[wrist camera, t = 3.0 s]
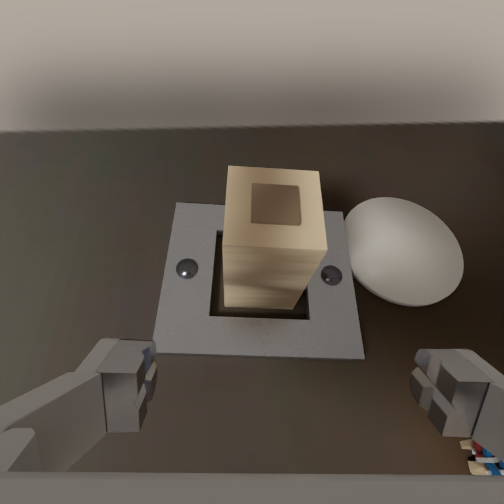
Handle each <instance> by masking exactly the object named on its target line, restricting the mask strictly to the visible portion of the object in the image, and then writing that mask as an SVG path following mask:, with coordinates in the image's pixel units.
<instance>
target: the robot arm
mask: <svg viewBox="0 0 504 504" xmlns="http://www.w3.org/2000/svg"><path fill="white" fill-rule="evenodd" d="M156 353H157V352H156V342H155V341H154V340H139V339H120V338H103V339H101V340H100V341H99V342H98V343H97V344H96V346H95V347H94V348H93V349H92V351H91V352H90V353H89V354H88V356H87V357H86V358H85V359H84V361H83V362H82V363H81V364H80V366H79V367H78V368H77V369H76V371H75V372H68V373H66V374H64V375H62V376H60V377H58V378H56V379H54V380H52V381H50V382H48V383H46V384H44V385H42V386H40V387H38V388H36V389H34V390H32V391H30V392H28V393H26V394H24V395H22V396H20V397H18V398H16V399H14V400H12V401H10V402H8V403H6V404H4V405H2V406H0V504H504V475H404V474H242V473H116V472H65V471H66V470H67V469H68V468H69V467H70V466H72V465H73V464H74V463H75V462H76V461H77V460H78V459H79V458H80V457H82V456H83V455H84V454H85V453H86V452H87V451H88V450H89V449H90V448H92V447H93V446H94V445H95V444H96V443H97V442H98V441H99V440H100V439H101V438H103V437H104V436H105V435H106V432H140V429H141V427H142V424H143V421H144V419H145V416H146V413H147V403H148V402H149V401H150V400H152V397H153V394H154V391H155V386H156V381H157V365H156V364H155V363H154V362H153V360H154V358H155V356H156ZM415 362H416V364H417V366H418V367H417V368H416V369H415V370H414V371H413V372H412V373H411V378H410V388H411V392H412V395H413V397H414V399H415V400H416V402H417V403H418V405H420V406H421V407H423V408H424V409H426V410H427V411H428V418H429V419H430V421H431V422H432V423H433V425H434V426H435V427H436V429H437V430H438V431H439V433H440V434H441V435H442V436H451V437H472V439H473V440H474V441H475V442H477V443H478V444H479V445H481V446H482V447H483V448H485V449H486V450H487V451H489V452H490V453H491V454H493V455H494V456H495V457H497V458H498V459H499V460H501V461H502V462H503V463H504V375H502V374H501V373H500V372H499V371H497V370H496V369H495V368H494V367H492V366H491V365H490V364H489V363H487V362H486V361H485V360H484V359H482V358H481V357H480V356H479V355H477V354H476V353H475V352H474V351H472V350H469V349H419V350H418V352H417V353H416V356H415Z"/></svg>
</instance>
